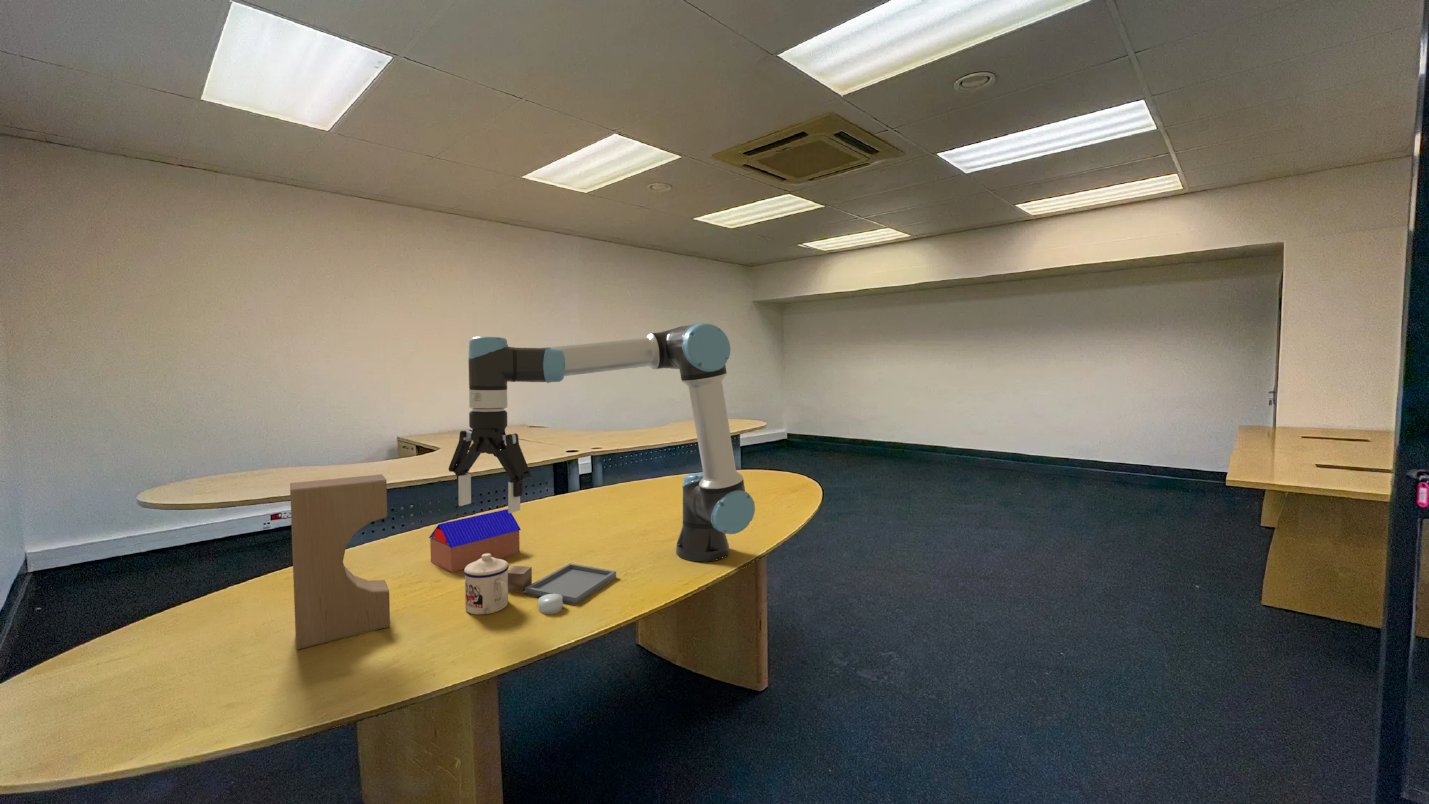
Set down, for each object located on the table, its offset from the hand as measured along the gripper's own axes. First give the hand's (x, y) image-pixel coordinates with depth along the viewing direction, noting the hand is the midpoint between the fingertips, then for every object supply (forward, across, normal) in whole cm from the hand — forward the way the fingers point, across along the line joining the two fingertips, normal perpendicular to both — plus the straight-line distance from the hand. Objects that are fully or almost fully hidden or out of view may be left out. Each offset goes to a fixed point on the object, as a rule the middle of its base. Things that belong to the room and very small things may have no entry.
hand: (489, 508), depth 116 cm
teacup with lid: (+22, 0, 0) cm, 22 cm away
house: (+23, -27, +23) cm, 42 cm away
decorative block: (+23, -19, -19) cm, 35 cm away
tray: (+22, +9, +17) cm, 29 cm away
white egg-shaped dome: (+22, +12, +5) cm, 26 cm away
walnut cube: (+22, -2, +11) cm, 25 cm away
